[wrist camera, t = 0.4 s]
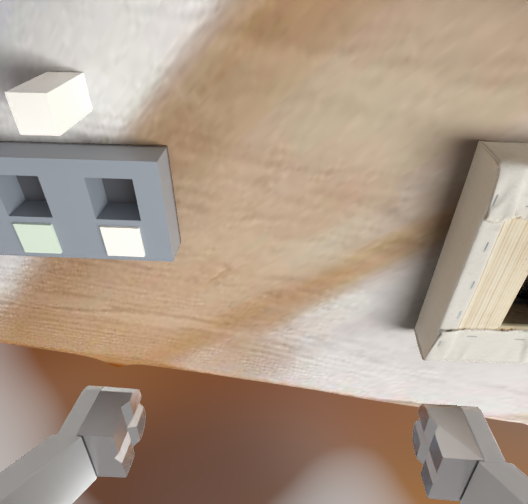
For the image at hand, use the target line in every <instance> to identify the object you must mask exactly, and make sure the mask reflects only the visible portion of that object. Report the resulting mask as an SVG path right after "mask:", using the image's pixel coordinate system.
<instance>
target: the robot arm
mask: <svg viewBox="0 0 528 504" xmlns="http://www.w3.org/2000/svg"><path fill="white" fill-rule="evenodd" d="M140 400H141V394H140V390H139V389H128V388H114V387H103V386H87V387H86V388H85V389H84V390H83V391H82V393H81V394H80V396H79V398H78V400H77V401H76V403H75V405H74V407H73V408H72V410H71V412H70V414H69V415H68V417H67V419H66V421H65V422H64V424H63V426H62V427H61V429H60V431H59V433H58V434H57V435H51V436H50V437H48V438H47V439H46V440H44V441H43V442H42V443H40V444H39V445H37V446H36V447H35V448H33V449H32V450H31V451H29V452H28V453H26V454H25V455H24V456H23V457H21V458H20V459H19V460H17V461H16V462H15V463H13V464H12V465H10V466H9V467H8V468H6V469H5V470H3V471H2V472H1V473H0V504H72V503H73V502H74V501H75V500H76V499H77V498H78V497H79V496H80V495H81V494H82V493H83V492H84V491H85V490H86V489H87V488H88V487H89V486H90V485H91V484H92V483H93V482H94V481H95V480H96V479H97V477H96V476H105V477H127V474H128V472H129V469H130V466H131V463H132V461H133V458H134V456H135V454H134V450H133V446H134V445H135V444H136V443H137V442H139V441H140V439H141V436H142V433H143V430H144V425H145V410H144V407H143V406H142V405H141V404H140V403H139V402H140ZM418 415H419V418H420V419H419V420H418V421H417V422H415V423H414V428H413V446H414V451H415V455H416V458H417V459H418V460H419V461H420V462H421V463H422V464H423V468H422V471H421V476H422V480H423V483H424V486H425V490H426V494H427V498H433V499H443V500H453V501H461V502H460V504H528V477H527V476H526V475H525V474H524V473H523V472H521V471H520V470H519V469H518V468H517V467H516V466H515V465H513V464H512V463H506V461H505V459H504V457H503V455H502V453H501V451H500V449H499V446H498V445H497V442H496V440H495V438H494V436H493V434H492V432H491V430H490V428H489V426H488V424H487V422H486V420H485V418H484V415H483V413H482V411H481V410H480V409H479V408H478V407H470V406H457V405H434V404H422V405H421V406H420V407H419V410H418Z"/></svg>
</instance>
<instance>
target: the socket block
mask: <svg viewBox="0 0 528 504" xmlns="http://www.w3.org/2000/svg"><path fill="white" fill-rule="evenodd" d="M180 243H181V238H180V231H179V224H178V217H177V210H176V203H175V196H174V189H173V183H172V176H171V169H170V162H169V155H168V148H167V146H148V145H114V144H79V143H44V142H10V141H0V255H18V256H44V257H69V258H94V259H120V260H145V261H170V262H174V259H175V256H176V254H177V251H178V249H179V246H180Z"/></svg>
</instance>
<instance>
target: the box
mask: <svg viewBox="0 0 528 504" xmlns="http://www.w3.org/2000/svg"><path fill="white" fill-rule="evenodd" d="M527 275H528V143H514V142H490V141H479V142H478V144H477V148H476V151H475V154H474V157H473V160H472V163H471V166H470V169H469V172H468V175H467V178H466V181H465V184H464V187H463V190H462V193H461V196H460V199H459V202H458V204H457V207H456V210H455V213H454V216H453V219H452V222H451V225H450V228H449V231H448V233H447V236H446V239H445V242H444V245H443V248H442V251H441V254H440V257H439V259H438V262H437V265H436V268H435V271H434V274H433V277H432V280H431V283H430V286H429V288H428V291H427V294H426V297H425V300H424V303H423V306H422V308H421V311H420V314H419V317H418V320H417V323H416V326H415V328H414V331H415V335H416V339H417V344H418V347H419V350H420V354H421V356H422V359H423V360H424V361H443V360H446V361H470V362H492V363H514V364H528V298H527V299H525V300H524V299H521V298H517V297H516V296H517V294H518V292H519V291H520V290H522V289H524V288H525V287H526V286H527V285H528V284H527V285H526V286H525V287H524V288H522V289H520V288H521V286H522V285H523V283H524V281H525V279H526V277H527Z"/></svg>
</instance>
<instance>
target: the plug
mask: <svg viewBox="0 0 528 504" xmlns="http://www.w3.org/2000/svg"><path fill="white" fill-rule="evenodd" d="M4 93H5V95H6V98H7V101H8V103H9V106H10V109H11V112H12V114H13V117H14V120H15V122H16V125H17V128H18V130H19V133H20V135H47V136H61V135H62V134H63V133H64V132H66V131H67V130H68V129H70V128H71V127H72V126H73V125H75V124H76V123H77V122H78V121H80V120H81V119H82V118H83V117H85V116H86V115H87V114H89V113H90V112H91V111H92V110H93V109H92V105H91V101H90V97H89V93H88V89H87V85H86V81H85V77H84V73H83V72H45V73H43V74H41V75H39V76H37V77H35V78H33V79H31V80H29V81H27V82H24V83H22V84H20V85H18V86H16V87H14V88H12V89H10V90H8V91H6V92H4Z"/></svg>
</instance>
